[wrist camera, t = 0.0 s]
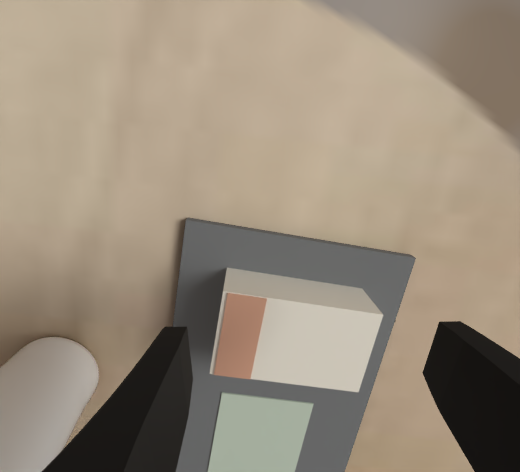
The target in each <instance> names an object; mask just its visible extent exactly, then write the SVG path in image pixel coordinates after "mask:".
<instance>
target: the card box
mask: <svg viewBox="0 0 520 472" xmlns="http://www.w3.org/2000/svg"><path fill="white" fill-rule="evenodd" d="M382 318H383V314H382V312H381V311H380V310H379V309H378V308H377V306H376V305H375V304H374V303H373V301H372V300H371V299H370V298H369V296H368V295H367V294H366V293H365V291H364V290H363V289H362V288H356V287H350V286H343V285H337V284H330V283H324V282H317V281H311V280H304V279H298V278H291V277H285V276H279V275H272V274H266V273H259V272H253V271H246V270H240V269H233V268H227V270H226V276H225V282H224V288H223V294H222V300H221V306H220V312H219V319H218V325H217V331H216V337H215V343H214V349H213V355H212V361H211V367H210V373H209V374H214V375H218V376H226V377H234V378H242V379H255V380H263V381H271V382H279V383H287V384H295V385H303V386H311V387H319V388H327V389H335V390H343V391H351V392H359V389H360V386H361V383H362V380H363V377H364V374H365V371H366V367H367V364H368V361H369V358H370V355H371V352H372V349H373V346H374V343H375V339H376V336H377V333H378V330H379V327H380V324H381V321H382Z"/></svg>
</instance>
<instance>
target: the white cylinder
mask: <svg viewBox="0 0 520 472" xmlns="http://www.w3.org/2000/svg"><path fill="white" fill-rule="evenodd" d="M98 381H99V369H98V365H97V362H96V360H95V358H94V357H93V355H92V354H91V353H90V352H89V351H88V350H87V349H86V348H85V347H84V346H82V345H81V344H79V343H77V342H75V341H73V340H70V339H67V338H62V337H45V338H40V339H37V340H35V341H32V342H30V343H28V344H27V345H25V346H24V347H23V348H21V349H20V350H19V351H18V352H17V353H16V354H15V355H13V356H12V357H11V358H10V359H9V360H8V361H7V362H6V363H4V364H3V365H2V366H1V367H0V472H42V471H43V470H44V469H45V468H46V467H47V465H48V464H49V463H50V462H51V461H52V460H53V459H54V458H55V457H56V456H57V455H58V454H59V453H60V452H61V451H62V450H63V449H64V447H65V445H66V443H67V441H68V439H69V437H70V435H71V433H72V431H73V429H74V427H75V425H76V423H77V421H78V420H79V418H80V416H81V414H82V412H83V410H84V408H85V407H86V405H87V403H88V402H89V400H90V399H91V397H92V395H93V394H94V392H95V390H96V388H97V385H98Z"/></svg>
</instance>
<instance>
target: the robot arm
mask: <svg viewBox="0 0 520 472" xmlns="http://www.w3.org/2000/svg"><path fill="white" fill-rule="evenodd" d="M423 375H424V377H425V380H426V382H427V384H428V387H429V389H430V392H431V394H432V396H433V398H434V400H435V403H436V405H437V407H438V409H439V411H440V413H441V415H442V416H443V418H444V420H445V422H446V423H447V425H448V427H449V429H450V430H451V432H452V434H453V435H454V437H455V439H456V441H457V442H458V444H459V446H460V447H461V449H462V451H463V453H464V454H465V456H466V458H467V459H468V461H469V463H470V464H471V466H472V468H473V470H474V471H475V472H520V359H519V358H518V357H516V356H515V355H513V354H512V353H510V352H509V351H507V350H505V349H504V348H502V347H501V346H499V345H498V344H496V343H495V342H493V341H491V340H490V339H488V338H487V337H485V336H484V335H482V334H480V333H479V332H477V331H476V330H474V329H472V328H471V327H469V326H467V325H465V324H464V323H462V322H460V321H457V322H439V324H438V328H437V331H436V334H435V337H434V340H433V343H432V346H431V349H430V352H429V355H428V358H427V361H426V364H425V367H424V370H423ZM192 384H193V373H192V364H191V356H190V347H189V338H188V329H187V327H165V328H164V329H162V330H161V332H160V333H159V335H158V336H157V337H156V339H155V340H154V342H153V343H152V344H151V346H150V347H149V348H148V350H147V351H146V352H145V354H144V355H143V356H142V358H141V359H140V360H139V362H138V363H137V364H136V366H135V367H134V368H133V369H132V371H131V372H130V373H129V374H128V376H127V377H126V378H125V379H124V381H123V382H122V383H121V384H120V386H119V387H118V388H117V389H116V391H115V392H114V393H113V394H112V395H111V397H110V398H109V399H108V400H107V401H106V402H105V404H104V405H103V406H102V407H101V408H100V409H99V410H98V412H97V413H96V414H95V415H94V416H93V417H92V418H91V420H90V421H89V422H88V423H87V424H86V425H85V426H84V428H83V429H82V430H81V431H80V432H79V433H78V434H77V435H76V436H75V437H74V438H73V440H72V441H71V442H70V443H69V444H68V445H67V446H66V447H65V448H64V449H63V450H62V451H61V452H60V453H59V454H58V455H57V456H56V457H55V458H54V459H53V460H52V461H51V462H50V463H49V464H48V465H47V467H46V468H45V469H44V470H43V471H42V472H176V468H177V464H178V460H179V455H180V451H181V447H182V442H183V438H184V434H185V429H186V425H187V420H188V415H189V408H190V400H191V392H192Z"/></svg>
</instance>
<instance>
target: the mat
mask: <svg viewBox="0 0 520 472" xmlns="http://www.w3.org/2000/svg"><path fill="white" fill-rule="evenodd" d="M415 259H416V258H415V257H413V256H412V255H409V254H403V253H397V252H391V251H385V250H379V249H373V248H367V247H361V246H355V245H349V244H343V243H337V242H331V241H325V240H319V239H313V238H307V237H301V236H295V235H289V234H283V233H277V232H271V231H265V230H259V229H253V228H247V227H241V226H235V225H229V224H223V223H217V222H211V221H205V220H199V219H193V218H187V219H186V223H185V231H184V239H183V247H182V255H181V264H180V272H179V280H178V288H177V296H176V304H175V312H174V321H173V327H187V329H188V338H189V347H190V356H191V364H192V373H193V384H192V392H191V400H190V408H189V415H188V420H187V425H186V429H185V434H184V438H183V442H182V447H181V451H180V455H179V460H178V464H177V468H176V472H345V469H346V466H347V463H348V460H349V457H350V454H351V451H352V448H353V445H354V442H355V439H356V436H357V433H358V430H359V427H360V424H361V421H362V418H363V415H364V412H365V409H366V406H367V403H368V400H369V397H370V394H371V391H372V388H373V385H374V382H375V379H376V376H377V373H378V370H379V367H380V364H381V361H382V358H383V355H384V352H385V349H386V346H387V343H388V340H389V337H390V334H391V331H392V328H393V325H394V322H395V319H396V316H397V313H398V310H399V307H400V304H401V301H402V298H403V295H404V292H405V289H406V286H407V283H408V280H409V277H410V274H411V271H412V268H413V265H414V262H415ZM227 268H233V269H240V270H246V271H253V272H259V273H266V274H272V275H279V276H285V277H291V278H298V279H304V280H311V281H317V282H324V283H330V284H337V285H343V286H350V287H356V288H362V289H363V290H364V291H365V293H366V294H367V295H368V296H369V298H370V299H371V300H372V301H373V303H374V304H375V305H376V306H377V308H378V309H379V310H380V311H381V312H382V314H383V318H382V321H381V324H380V327H379V330H378V333H377V336H376V339H375V343H374V346H373V349H372V352H371V355H370V358H369V361H368V364H367V367H366V371H365V374H364V377H363V380H362V383H361V386H360V389H359V392H351V391H343V390H335V389H327V388H319V387H311V386H303V385H295V384H287V383H279V382H271V381H263V380H255V379H242V378H234V377H226V376H218V375H214V374H209V373H210V367H211V361H212V355H213V349H214V343H215V337H216V331H217V325H218V319H219V312H220V306H221V300H222V294H223V288H224V282H225V276H226V270H227Z"/></svg>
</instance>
